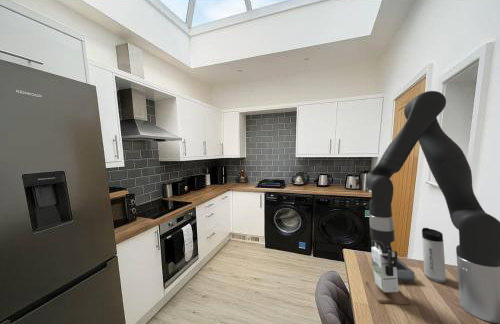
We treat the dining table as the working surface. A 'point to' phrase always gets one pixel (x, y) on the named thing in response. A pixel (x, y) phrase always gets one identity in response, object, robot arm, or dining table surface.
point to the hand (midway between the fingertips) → (384, 269)
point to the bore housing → (404, 272)
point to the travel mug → (433, 255)
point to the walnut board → (386, 295)
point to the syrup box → (383, 272)
